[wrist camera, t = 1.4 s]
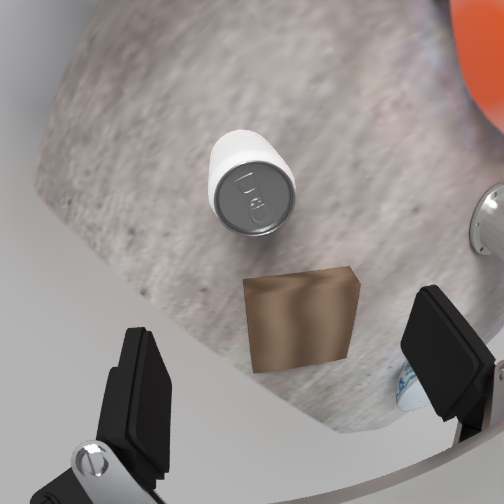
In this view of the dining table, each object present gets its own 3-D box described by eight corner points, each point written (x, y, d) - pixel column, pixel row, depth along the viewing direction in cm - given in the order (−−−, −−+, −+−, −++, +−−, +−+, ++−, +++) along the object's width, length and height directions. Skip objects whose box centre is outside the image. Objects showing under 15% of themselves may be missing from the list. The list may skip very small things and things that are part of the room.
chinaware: (440, 365, 58) (455, 390, 51) (383, 392, 59) (395, 419, 52) (450, 322, 50) (470, 350, 44) (384, 353, 51) (400, 385, 45)
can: (227, 198, 34) (234, 256, 23) (198, 146, 30) (189, 182, 20) (282, 172, 33) (314, 218, 22) (256, 118, 29) (279, 138, 19)
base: (349, 266, 40) (360, 284, 37) (338, 339, 47) (346, 358, 44) (242, 279, 39) (246, 299, 36) (250, 353, 46) (253, 373, 43)
